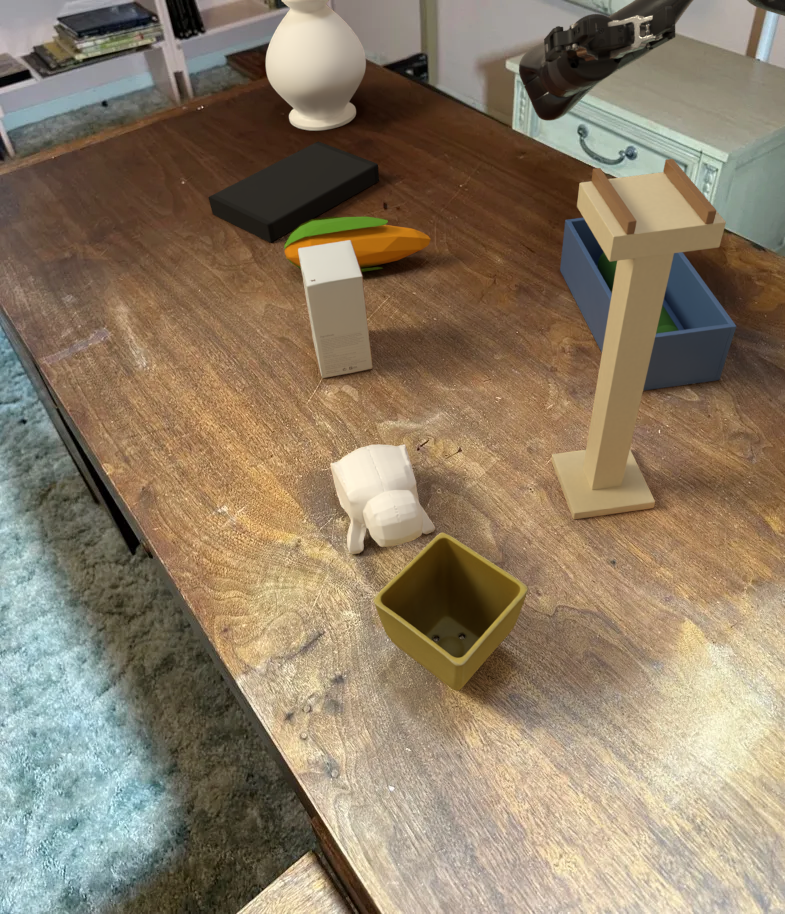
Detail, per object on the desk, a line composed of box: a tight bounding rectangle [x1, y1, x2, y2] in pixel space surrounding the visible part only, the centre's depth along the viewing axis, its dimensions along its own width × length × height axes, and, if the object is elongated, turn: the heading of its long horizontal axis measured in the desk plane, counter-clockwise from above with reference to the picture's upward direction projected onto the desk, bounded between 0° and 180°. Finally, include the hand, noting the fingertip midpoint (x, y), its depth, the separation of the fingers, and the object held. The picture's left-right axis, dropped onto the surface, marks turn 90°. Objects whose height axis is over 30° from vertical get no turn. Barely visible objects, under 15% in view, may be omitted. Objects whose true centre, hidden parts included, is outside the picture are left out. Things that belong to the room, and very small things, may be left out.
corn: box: [283, 216, 431, 273], centre depth 104 cm, size 7×8×20 cm
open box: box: [559, 217, 737, 392], centre depth 92 cm, size 11×25×8 cm, turn 7°
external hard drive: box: [207, 140, 380, 244], centre depth 121 cm, size 14×23×3 cm, turn 137°
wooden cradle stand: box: [550, 158, 727, 520], centre depth 66 cm, size 8×9×31 cm
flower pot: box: [373, 531, 529, 692], centre depth 62 cm, size 9×9×9 cm
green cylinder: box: [597, 252, 679, 334], centre depth 93 cm, size 20×4×4 cm, turn 7°
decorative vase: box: [265, 0, 367, 131], centre depth 133 cm, size 18×18×25 cm
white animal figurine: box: [330, 443, 436, 555], centre depth 72 cm, size 8×8×15 cm
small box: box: [298, 240, 374, 379], centre depth 89 cm, size 8×6×13 cm
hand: (630, 21), depth 83 cm, fingers open, 8 cm apart
